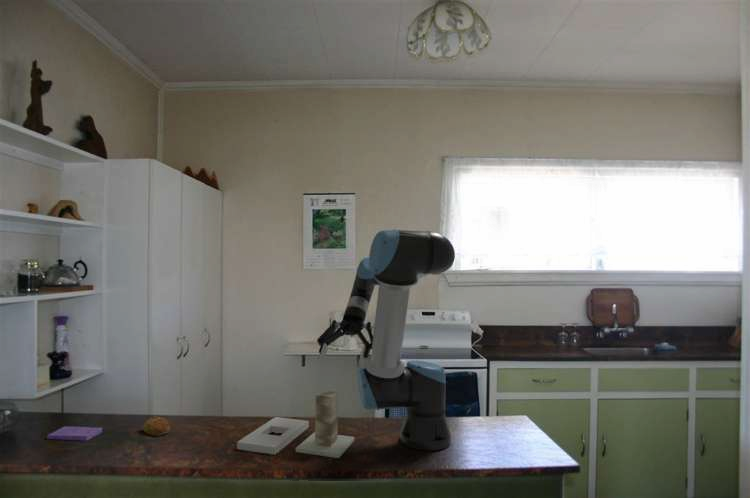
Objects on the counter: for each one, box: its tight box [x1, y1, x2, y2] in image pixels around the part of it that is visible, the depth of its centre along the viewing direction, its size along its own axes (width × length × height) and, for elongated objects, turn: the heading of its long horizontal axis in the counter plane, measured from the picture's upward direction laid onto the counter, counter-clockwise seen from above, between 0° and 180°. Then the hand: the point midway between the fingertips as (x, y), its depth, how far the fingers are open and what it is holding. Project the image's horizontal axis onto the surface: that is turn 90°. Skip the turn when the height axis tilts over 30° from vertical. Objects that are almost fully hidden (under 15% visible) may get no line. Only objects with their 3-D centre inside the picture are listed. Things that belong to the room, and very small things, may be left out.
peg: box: [314, 390, 339, 447], centre depth 129 cm, size 5×5×14 cm
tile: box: [295, 431, 355, 459], centre depth 129 cm, size 13×13×1 cm
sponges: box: [46, 425, 103, 442], centre depth 134 cm, size 7×13×2 cm, turn 86°
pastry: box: [142, 416, 171, 437], centre depth 138 cm, size 9×7×4 cm
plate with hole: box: [236, 416, 310, 456], centre depth 135 cm, size 12×22×2 cm, turn 164°
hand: (340, 364), depth 141 cm, fingers open, 13 cm apart
